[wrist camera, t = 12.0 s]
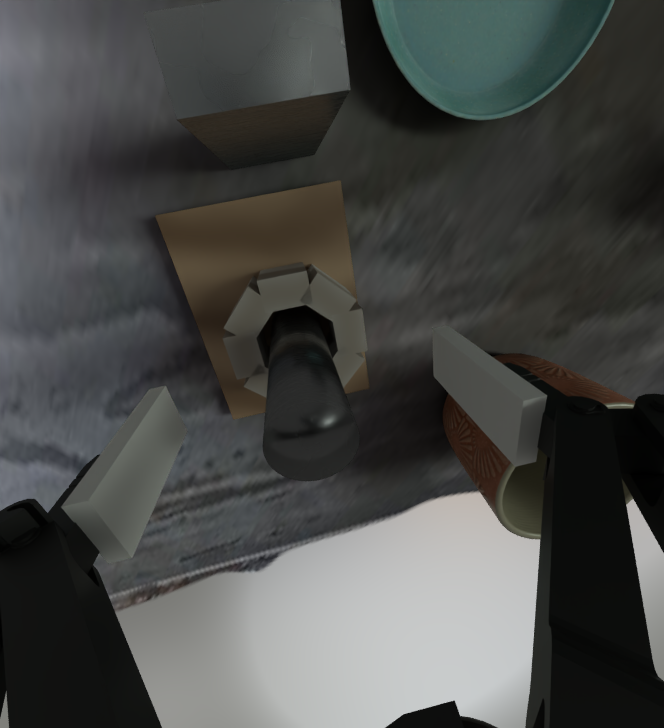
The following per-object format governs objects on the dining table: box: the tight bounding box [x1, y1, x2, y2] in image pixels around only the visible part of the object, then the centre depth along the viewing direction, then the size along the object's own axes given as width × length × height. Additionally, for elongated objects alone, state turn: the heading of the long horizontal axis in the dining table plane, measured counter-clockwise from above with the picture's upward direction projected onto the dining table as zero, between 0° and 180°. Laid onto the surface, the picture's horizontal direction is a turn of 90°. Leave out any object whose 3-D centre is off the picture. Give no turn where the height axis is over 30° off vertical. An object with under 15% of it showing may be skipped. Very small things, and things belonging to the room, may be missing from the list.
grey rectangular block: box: [143, 0, 350, 170], centre depth 15 cm, size 6×2×12 cm, turn 100°
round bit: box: [263, 305, 360, 481], centre depth 18 cm, size 4×4×14 cm
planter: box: [443, 353, 635, 539], centre depth 27 cm, size 12×12×11 cm
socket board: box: [155, 180, 369, 419], centre depth 22 cm, size 16×12×5 cm
